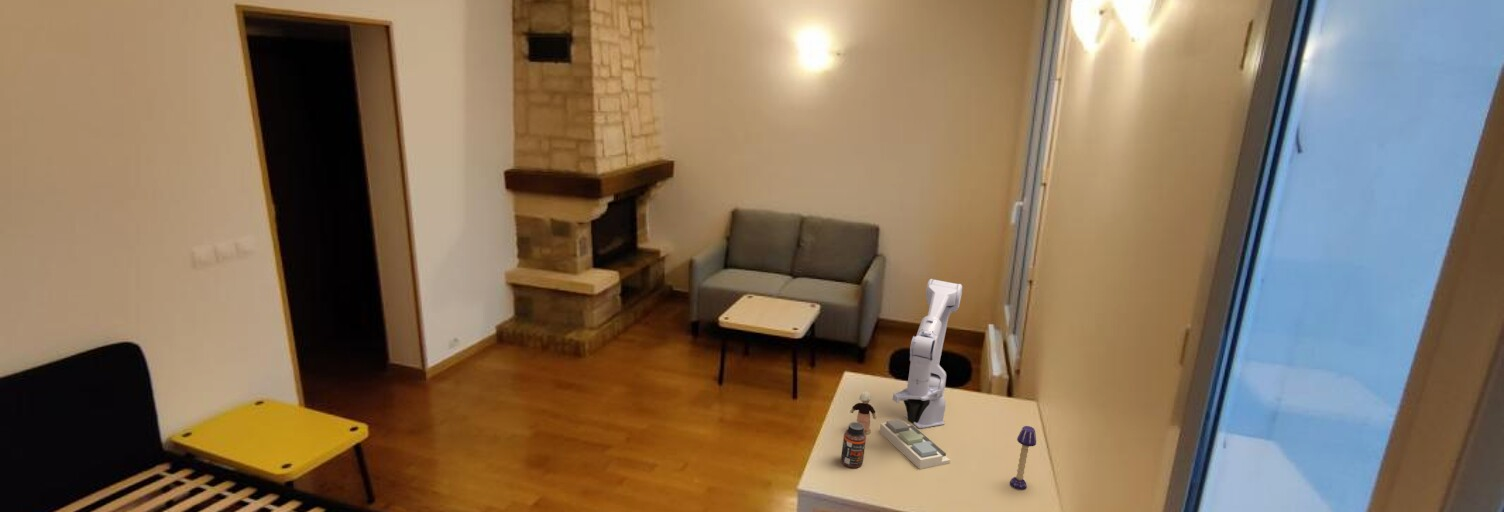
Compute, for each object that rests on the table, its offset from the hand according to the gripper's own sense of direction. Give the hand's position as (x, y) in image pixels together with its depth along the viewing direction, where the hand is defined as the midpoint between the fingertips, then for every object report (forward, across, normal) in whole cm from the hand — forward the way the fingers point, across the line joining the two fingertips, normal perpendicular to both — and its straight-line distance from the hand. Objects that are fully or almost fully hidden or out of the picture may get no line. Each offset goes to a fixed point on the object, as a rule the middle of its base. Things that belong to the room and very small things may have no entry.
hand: (912, 421), depth 198 cm
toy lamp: (+9, +18, -24) cm, 31 cm away
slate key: (+6, 0, -7) cm, 9 cm away
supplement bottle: (+9, -20, -2) cm, 22 cm away
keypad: (+8, +1, 0) cm, 9 cm away
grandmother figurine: (+9, -9, +12) cm, 17 cm away
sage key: (+6, 0, 0) cm, 6 cm away
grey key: (+6, 0, +6) cm, 9 cm away
